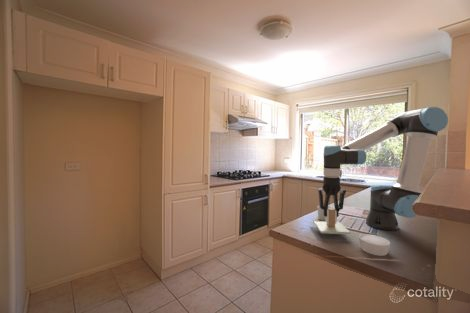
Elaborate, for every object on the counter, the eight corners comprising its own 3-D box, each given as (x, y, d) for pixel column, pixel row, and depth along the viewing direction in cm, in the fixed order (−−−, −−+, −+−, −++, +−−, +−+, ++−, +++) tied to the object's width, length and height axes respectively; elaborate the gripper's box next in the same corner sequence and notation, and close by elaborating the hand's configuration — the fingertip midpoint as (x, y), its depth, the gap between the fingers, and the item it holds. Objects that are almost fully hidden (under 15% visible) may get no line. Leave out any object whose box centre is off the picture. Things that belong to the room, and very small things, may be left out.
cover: (339, 223, 112) (339, 205, 111) (350, 234, 99) (350, 213, 98) (313, 223, 113) (313, 204, 113) (321, 233, 100) (321, 212, 99)
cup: (333, 224, 120) (334, 210, 120) (319, 223, 122) (319, 209, 122) (329, 218, 131) (329, 205, 131) (315, 217, 133) (316, 204, 132)
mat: (339, 229, 113) (340, 228, 113) (353, 243, 97) (353, 242, 97) (309, 227, 115) (309, 227, 115) (317, 241, 99) (317, 240, 99)
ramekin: (356, 243, 97) (357, 232, 97) (385, 247, 93) (386, 236, 93) (360, 254, 87) (361, 242, 87) (393, 260, 83) (394, 247, 83)
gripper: (345, 175, 107) (344, 220, 109) (312, 175, 109) (312, 219, 110) (352, 177, 100) (350, 226, 101) (317, 177, 102) (316, 225, 103)
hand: (330, 222), depth 106 cm, fingers closed on cover, 3 cm apart
